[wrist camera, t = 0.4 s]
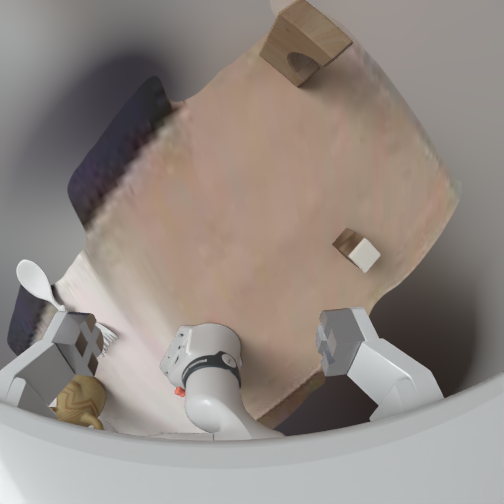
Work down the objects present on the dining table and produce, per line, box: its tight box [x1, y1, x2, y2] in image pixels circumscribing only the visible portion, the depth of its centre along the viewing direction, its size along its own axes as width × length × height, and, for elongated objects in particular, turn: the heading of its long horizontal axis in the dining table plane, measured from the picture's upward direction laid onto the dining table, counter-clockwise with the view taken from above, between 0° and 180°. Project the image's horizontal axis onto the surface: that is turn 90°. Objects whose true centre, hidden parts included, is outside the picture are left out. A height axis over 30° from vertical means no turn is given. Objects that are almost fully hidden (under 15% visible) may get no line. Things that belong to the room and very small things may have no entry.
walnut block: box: [332, 228, 381, 273], centre depth 60 cm, size 5×5×10 cm
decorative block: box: [260, 0, 353, 87], centre depth 41 cm, size 11×6×20 cm, turn 47°
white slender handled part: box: [17, 260, 119, 357], centre depth 59 cm, size 9×32×4 cm, turn 46°
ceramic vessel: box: [50, 374, 106, 430], centre depth 57 cm, size 17×20×25 cm
